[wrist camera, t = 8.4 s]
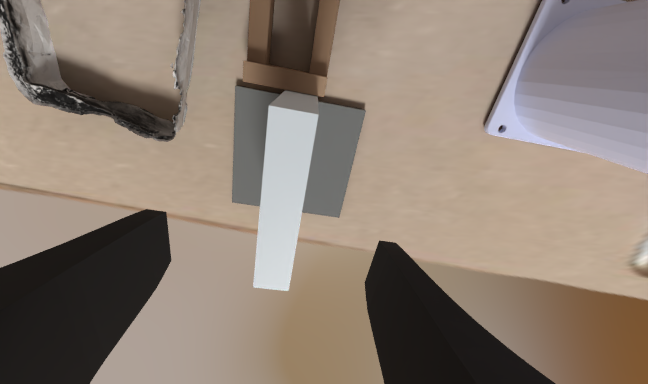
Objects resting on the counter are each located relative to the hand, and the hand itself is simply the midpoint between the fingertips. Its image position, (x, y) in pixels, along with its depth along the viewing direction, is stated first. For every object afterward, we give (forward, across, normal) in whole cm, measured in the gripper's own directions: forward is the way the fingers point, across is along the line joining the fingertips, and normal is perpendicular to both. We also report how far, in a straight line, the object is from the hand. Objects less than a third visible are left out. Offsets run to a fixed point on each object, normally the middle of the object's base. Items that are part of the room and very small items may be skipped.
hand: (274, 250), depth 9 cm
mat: (+10, 0, 0) cm, 10 cm away
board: (+10, 0, 0) cm, 10 cm away
